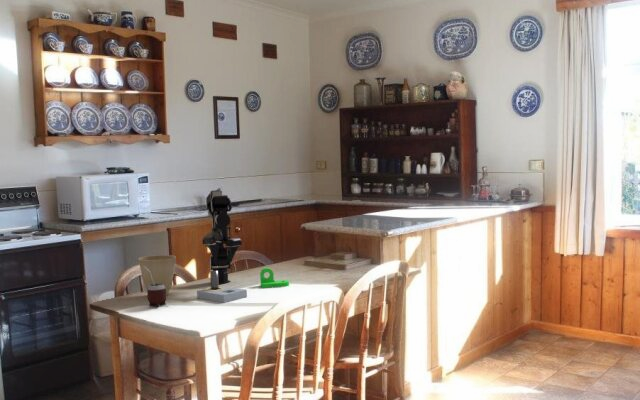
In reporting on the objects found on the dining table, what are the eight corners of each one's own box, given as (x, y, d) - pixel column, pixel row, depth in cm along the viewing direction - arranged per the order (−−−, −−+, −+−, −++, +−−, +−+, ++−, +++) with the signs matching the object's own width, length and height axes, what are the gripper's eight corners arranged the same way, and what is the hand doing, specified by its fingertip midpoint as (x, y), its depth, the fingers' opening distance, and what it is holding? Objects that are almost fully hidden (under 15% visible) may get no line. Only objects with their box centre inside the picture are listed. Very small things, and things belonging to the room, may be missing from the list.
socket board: (197, 298, 263) (196, 290, 263) (219, 292, 272) (219, 285, 272) (224, 302, 253) (224, 294, 253) (246, 297, 262) (246, 289, 262)
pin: (209, 295, 265) (208, 271, 264) (215, 294, 267) (214, 269, 267) (214, 296, 263) (213, 271, 262) (220, 295, 265) (219, 270, 265)
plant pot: (158, 301, 260) (156, 261, 259) (132, 297, 268) (130, 259, 267) (185, 293, 273) (183, 255, 272) (159, 291, 281) (158, 254, 280)
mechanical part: (262, 288, 279) (261, 270, 279) (260, 286, 285) (260, 268, 285) (290, 287, 282) (289, 268, 281) (288, 284, 288) (287, 266, 287)
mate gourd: (167, 306, 250) (165, 267, 249) (145, 308, 248) (143, 269, 247) (166, 302, 257) (164, 264, 256) (145, 304, 255) (143, 266, 254)
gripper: (191, 226, 277) (193, 262, 278) (222, 227, 266) (223, 266, 267) (211, 223, 286) (213, 259, 287) (241, 225, 274) (243, 262, 275)
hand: (222, 261), depth 279 cm, fingers open, 9 cm apart
